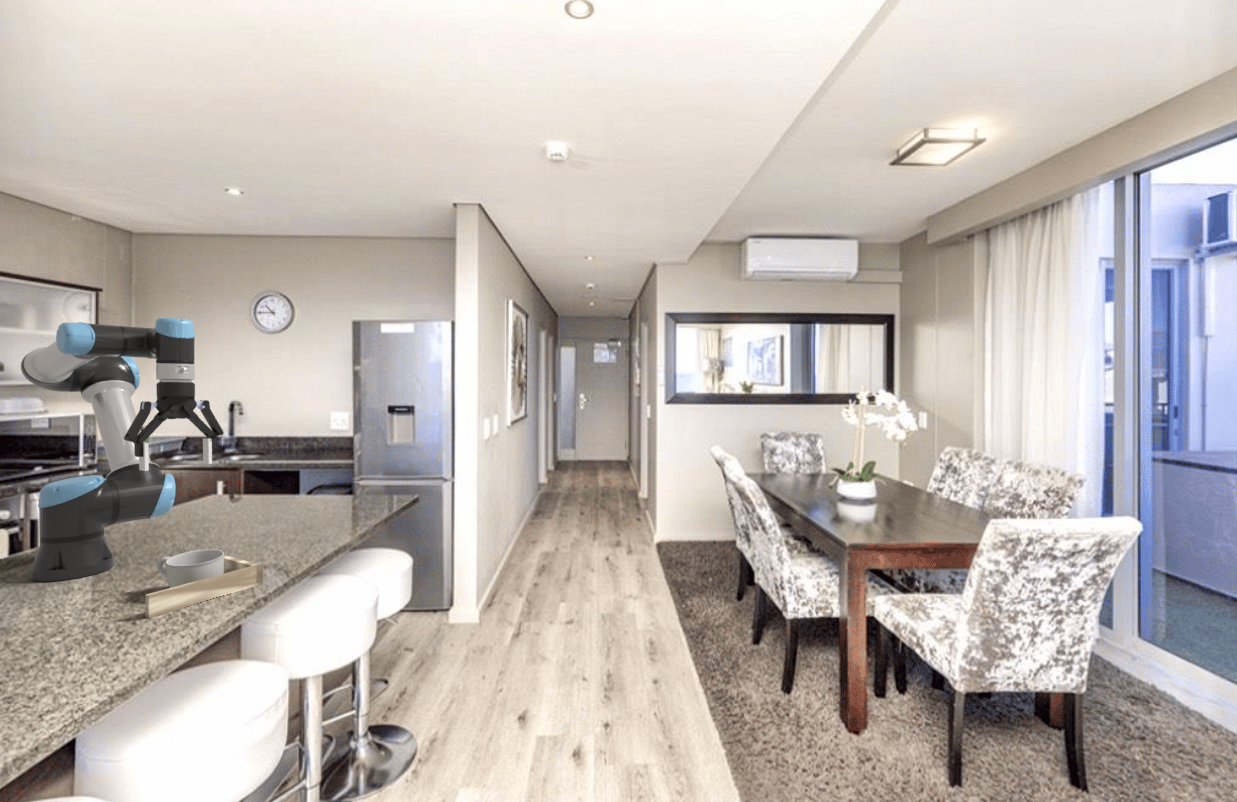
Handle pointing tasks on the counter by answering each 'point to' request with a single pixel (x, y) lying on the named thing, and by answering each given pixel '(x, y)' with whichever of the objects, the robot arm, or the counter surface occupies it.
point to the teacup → (191, 566)
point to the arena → (206, 587)
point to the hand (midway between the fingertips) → (177, 466)
